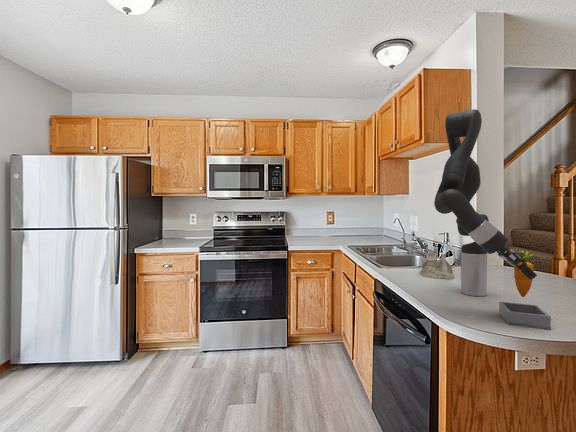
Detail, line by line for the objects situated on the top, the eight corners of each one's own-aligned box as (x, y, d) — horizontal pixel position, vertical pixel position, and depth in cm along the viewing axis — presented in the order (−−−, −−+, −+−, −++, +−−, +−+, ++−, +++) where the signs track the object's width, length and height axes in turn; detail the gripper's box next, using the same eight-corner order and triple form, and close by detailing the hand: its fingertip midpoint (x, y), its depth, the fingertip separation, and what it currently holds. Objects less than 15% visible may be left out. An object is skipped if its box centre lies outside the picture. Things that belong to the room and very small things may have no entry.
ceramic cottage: (454, 280, 147) (453, 249, 147) (418, 277, 155) (417, 248, 156) (455, 275, 160) (454, 247, 161) (421, 273, 168) (421, 246, 169)
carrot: (524, 294, 99) (525, 249, 99) (537, 299, 94) (538, 251, 94) (509, 294, 99) (510, 249, 99) (521, 299, 94) (523, 251, 94)
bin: (499, 312, 104) (499, 301, 104) (537, 317, 100) (537, 305, 100) (507, 324, 94) (508, 311, 94) (550, 329, 90) (550, 316, 90)
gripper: (502, 230, 92) (551, 272, 88) (491, 227, 105) (533, 263, 101) (482, 246, 94) (528, 288, 90) (473, 241, 108) (513, 278, 104)
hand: (530, 275), depth 96 cm, fingers closed on carrot, 4 cm apart
